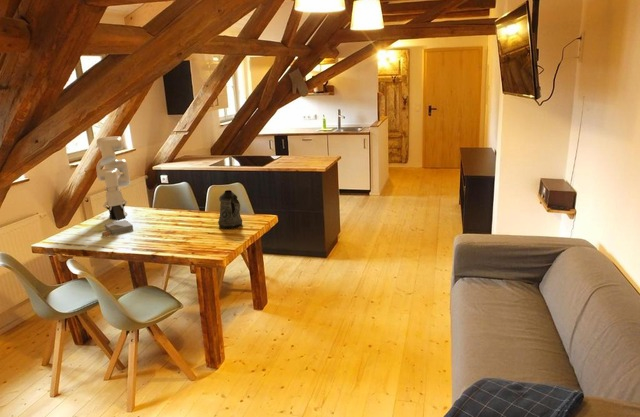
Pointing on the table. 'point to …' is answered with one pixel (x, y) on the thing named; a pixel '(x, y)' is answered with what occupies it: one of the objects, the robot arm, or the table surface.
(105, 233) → the walnut offcut
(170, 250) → the table surface
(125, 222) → the stand
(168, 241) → the table surface
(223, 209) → the dark grey upright piece
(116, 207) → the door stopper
